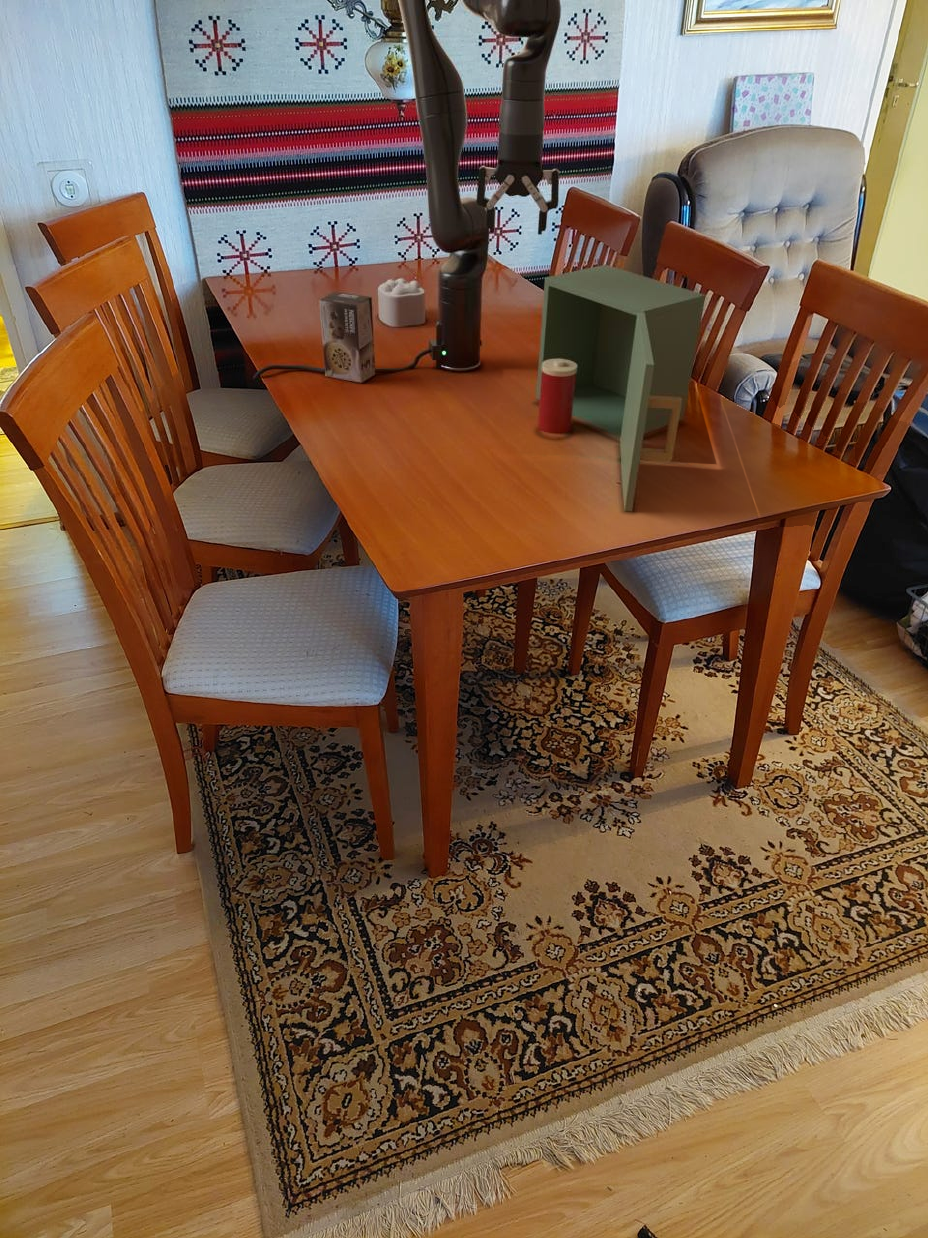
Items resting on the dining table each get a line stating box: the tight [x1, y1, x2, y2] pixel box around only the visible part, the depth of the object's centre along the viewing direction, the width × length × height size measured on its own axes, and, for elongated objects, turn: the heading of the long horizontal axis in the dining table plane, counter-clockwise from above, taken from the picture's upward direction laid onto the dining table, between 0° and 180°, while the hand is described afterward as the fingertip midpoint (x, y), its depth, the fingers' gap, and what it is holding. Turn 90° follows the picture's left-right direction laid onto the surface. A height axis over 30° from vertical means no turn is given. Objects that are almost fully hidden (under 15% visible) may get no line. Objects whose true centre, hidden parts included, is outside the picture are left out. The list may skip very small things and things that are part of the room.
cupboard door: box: [619, 313, 682, 512], centre depth 144 cm, size 6×24×24 cm, turn 174°
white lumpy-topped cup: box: [377, 277, 426, 328], centre depth 216 cm, size 10×13×9 cm
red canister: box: [537, 359, 578, 435], centre depth 161 cm, size 6×6×14 cm
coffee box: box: [318, 291, 376, 384], centre depth 182 cm, size 9×6×16 cm
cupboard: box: [535, 264, 706, 438], centre depth 166 cm, size 16×24×24 cm, turn 39°
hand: (515, 232), depth 157 cm, fingers open, 8 cm apart
